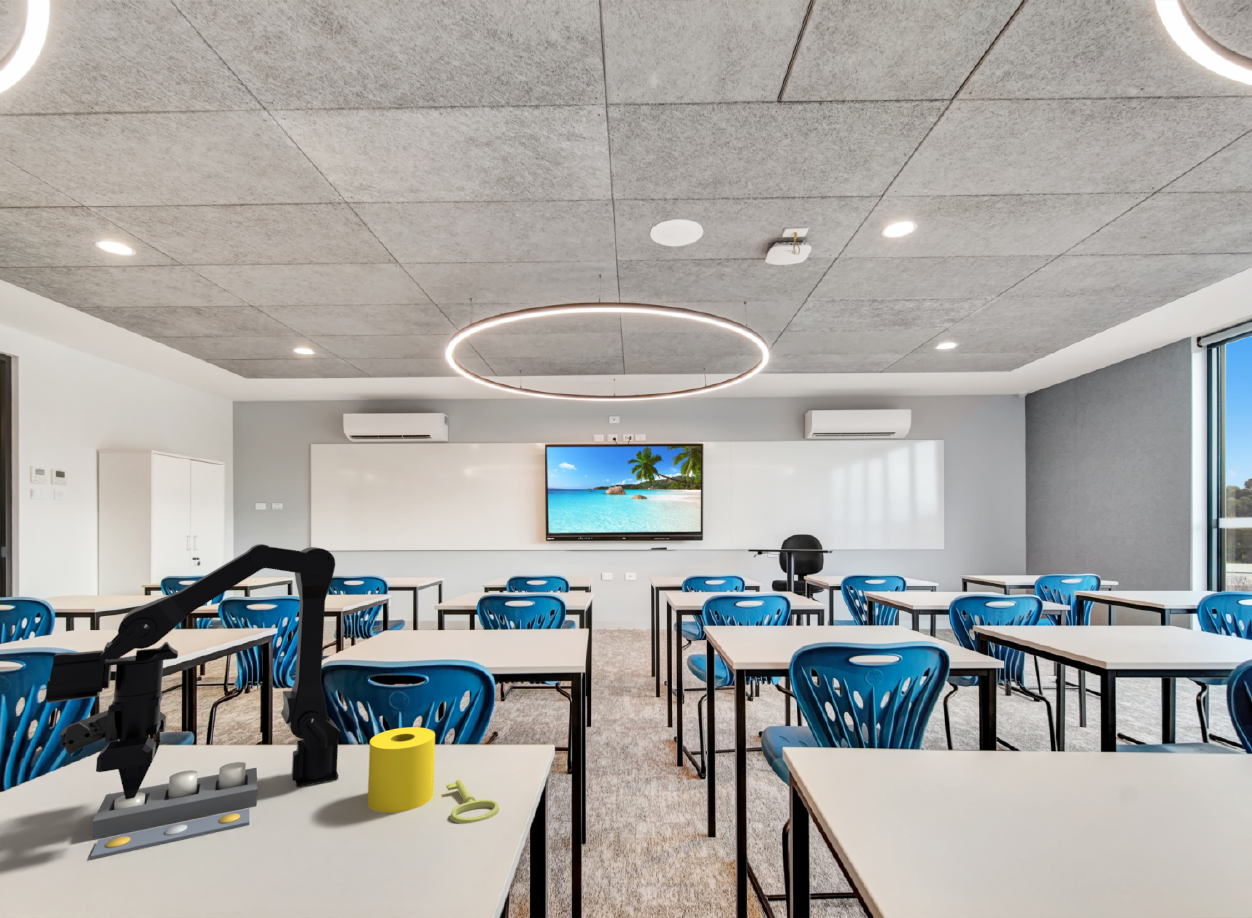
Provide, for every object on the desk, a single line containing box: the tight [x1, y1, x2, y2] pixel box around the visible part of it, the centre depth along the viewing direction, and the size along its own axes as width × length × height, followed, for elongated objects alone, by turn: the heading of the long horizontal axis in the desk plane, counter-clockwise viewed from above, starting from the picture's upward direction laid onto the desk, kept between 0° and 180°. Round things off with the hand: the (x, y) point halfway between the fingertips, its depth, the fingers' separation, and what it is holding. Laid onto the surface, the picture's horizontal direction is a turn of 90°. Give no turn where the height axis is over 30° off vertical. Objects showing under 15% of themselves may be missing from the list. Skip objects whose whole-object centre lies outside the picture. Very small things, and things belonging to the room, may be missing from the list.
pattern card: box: [90, 808, 250, 860], centre depth 89 cm, size 18×5×1 cm, turn 121°
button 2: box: [218, 761, 247, 790], centre depth 100 cm, size 4×4×3 cm
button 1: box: [114, 792, 145, 810], centre depth 93 cm, size 4×4×3 cm
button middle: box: [168, 770, 199, 799], centre depth 97 cm, size 4×4×3 cm
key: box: [445, 779, 500, 824], centre depth 97 cm, size 7×12×2 cm, turn 48°
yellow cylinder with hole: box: [367, 726, 436, 814], centre depth 101 cm, size 10×10×9 cm
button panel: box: [90, 767, 258, 841], centre depth 97 cm, size 20×10×2 cm, turn 121°
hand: (130, 798), depth 94 cm, fingers closed, pressing on button 1
